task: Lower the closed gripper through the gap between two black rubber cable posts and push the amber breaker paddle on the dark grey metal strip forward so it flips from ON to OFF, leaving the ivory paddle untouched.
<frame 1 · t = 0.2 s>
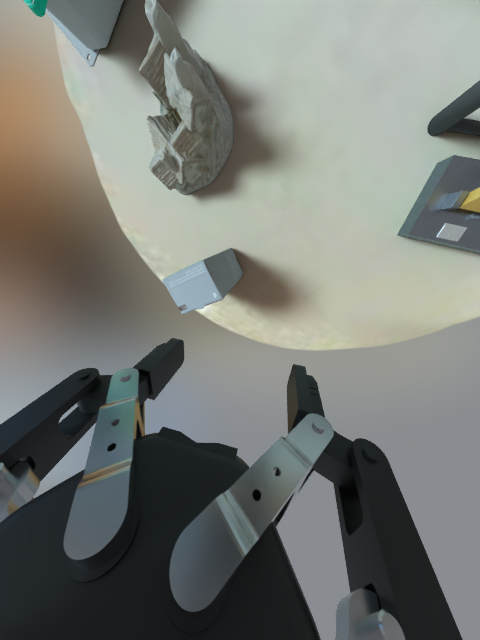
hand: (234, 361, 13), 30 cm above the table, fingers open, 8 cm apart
skincare box: (222, 270, 41), on the table
jagged rock sculpture: (190, 134, 32), on the table
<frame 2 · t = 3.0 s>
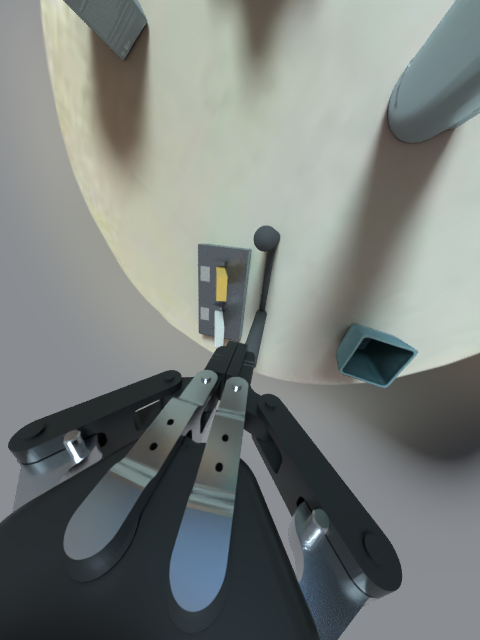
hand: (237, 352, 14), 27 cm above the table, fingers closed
flower pot: (356, 336, 39), on the table
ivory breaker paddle: (218, 326, 36), point 8 cm above the table, hinge at -20.0°
cable posts: (266, 279, 38), on the table
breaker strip: (224, 293, 41), on the table
amber breaker paddle: (220, 282, 32), point 8 cm above the table, hinge at -20.0°
skincare box: (117, 13, 27), on the table
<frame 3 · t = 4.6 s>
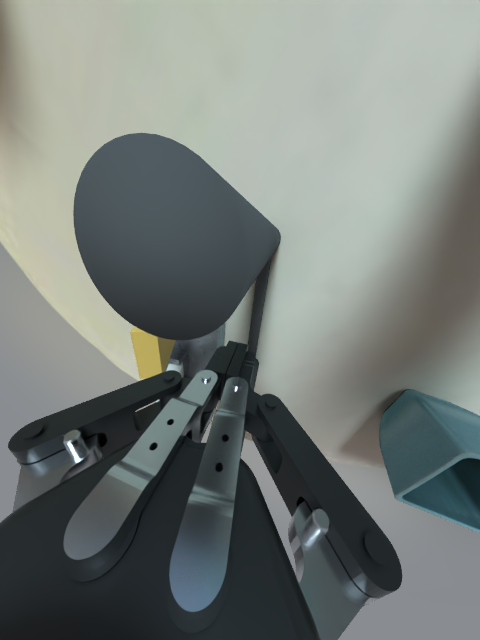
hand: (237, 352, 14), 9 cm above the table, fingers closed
flower pot: (411, 406, 23), on the table
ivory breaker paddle: (170, 398, 20), point 8 cm above the table, hinge at -20.0°
cable posts: (257, 310, 22), on the table
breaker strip: (190, 329, 25), on the table
amber breaker paddle: (162, 328, 16), point 8 cm above the table, hinge at -20.0°
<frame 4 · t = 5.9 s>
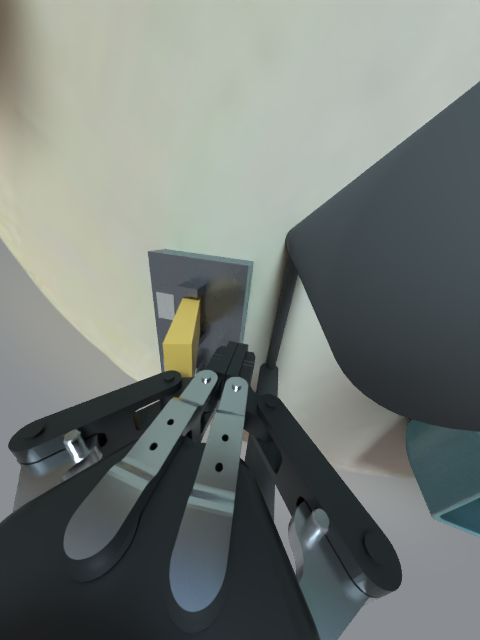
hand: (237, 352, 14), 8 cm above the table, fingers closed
flower pot: (438, 416, 22), on the table
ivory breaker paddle: (189, 410, 19), point 8 cm above the table, hinge at -20.0°
cable posts: (281, 316, 21), on the table
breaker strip: (206, 334, 24), on the table
amber breaker paddle: (187, 336, 15), point 8 cm above the table, hinge at -19.7°, touching gripper
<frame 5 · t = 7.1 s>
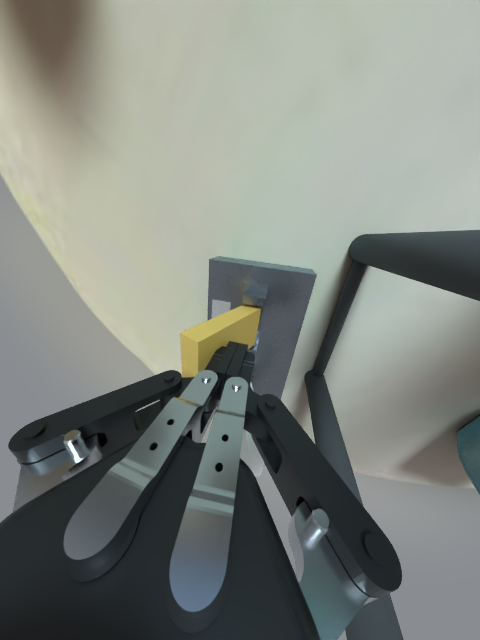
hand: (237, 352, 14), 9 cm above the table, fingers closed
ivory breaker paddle: (246, 419, 18), point 8 cm above the table, hinge at -20.0°
cable posts: (334, 323, 20), on the table
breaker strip: (251, 341, 24), on the table
amber breaker paddle: (226, 339, 15), point 8 cm above the table, hinge at 22.2°, touching gripper
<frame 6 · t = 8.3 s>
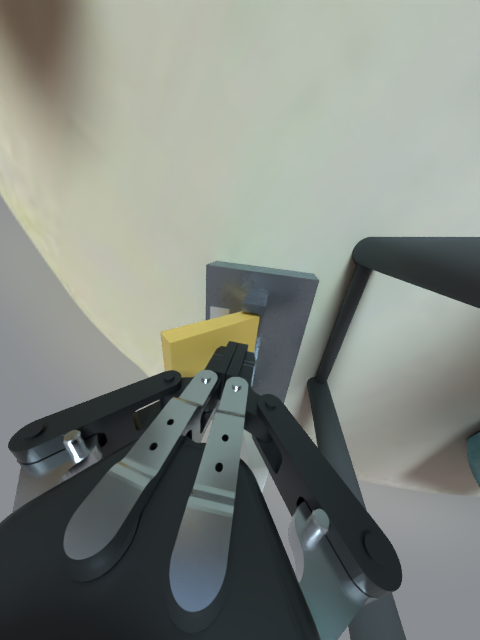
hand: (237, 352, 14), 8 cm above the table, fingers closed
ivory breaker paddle: (247, 431, 18), point 8 cm above the table, hinge at -20.0°
cable posts: (337, 329, 20), on the table
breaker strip: (251, 347, 23), on the table
amber breaker paddle: (216, 344, 15), point 7 cm above the table, hinge at 37.3°
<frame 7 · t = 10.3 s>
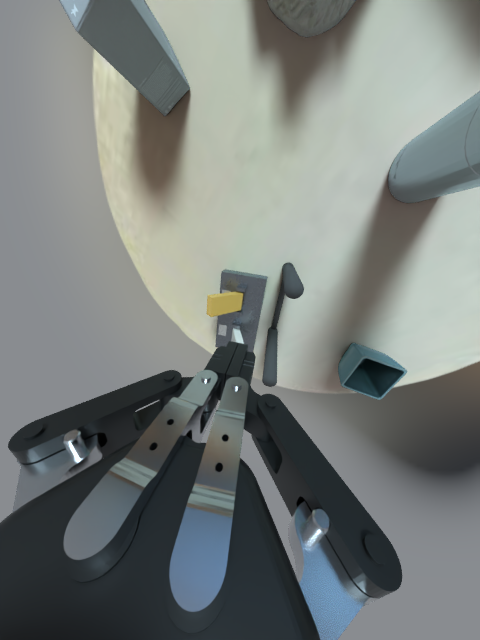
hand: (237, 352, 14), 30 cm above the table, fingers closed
flower pot: (355, 353, 45), on the table
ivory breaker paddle: (237, 344, 41), point 8 cm above the table, hinge at -20.0°
cable posts: (279, 302, 43), on the table
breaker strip: (240, 312, 46), on the table
amber breaker paddle: (225, 303, 38), point 7 cm above the table, hinge at 37.5°
skincare box: (163, 78, 31), on the table
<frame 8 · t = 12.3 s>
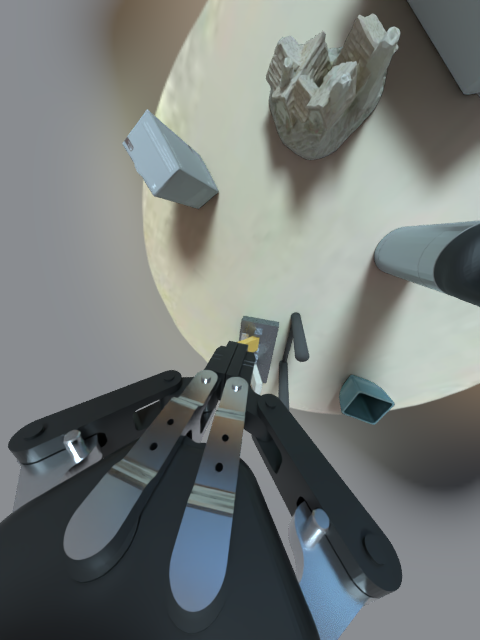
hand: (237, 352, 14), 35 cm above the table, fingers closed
flower pot: (354, 382, 53), on the table
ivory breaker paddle: (255, 377, 50), point 8 cm above the table, hinge at -20.0°
cable posts: (289, 341, 52), on the table
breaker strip: (256, 348, 55), on the table
amber breaker paddle: (245, 347, 47), point 7 cm above the table, hinge at 37.5°
skincare box: (197, 183, 40), on the table
jagged rock sculpture: (322, 100, 31), on the table
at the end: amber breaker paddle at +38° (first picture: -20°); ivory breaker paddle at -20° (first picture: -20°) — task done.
